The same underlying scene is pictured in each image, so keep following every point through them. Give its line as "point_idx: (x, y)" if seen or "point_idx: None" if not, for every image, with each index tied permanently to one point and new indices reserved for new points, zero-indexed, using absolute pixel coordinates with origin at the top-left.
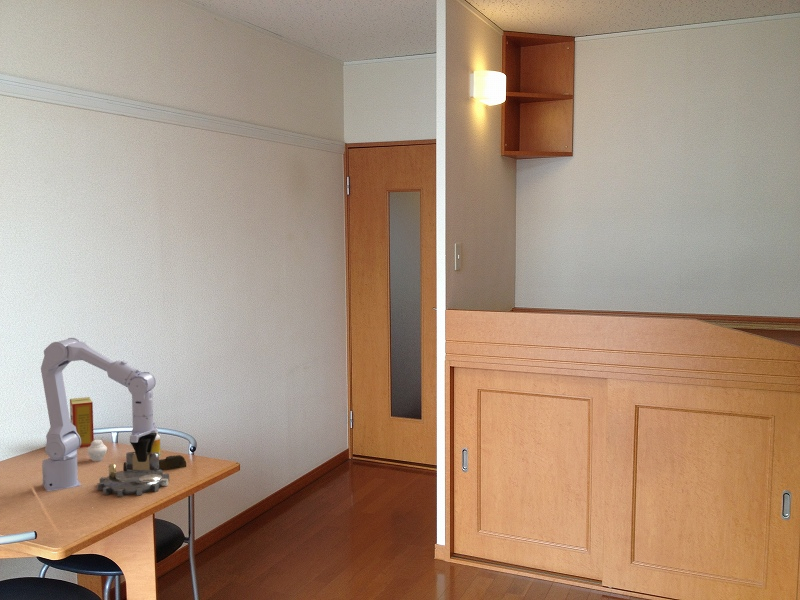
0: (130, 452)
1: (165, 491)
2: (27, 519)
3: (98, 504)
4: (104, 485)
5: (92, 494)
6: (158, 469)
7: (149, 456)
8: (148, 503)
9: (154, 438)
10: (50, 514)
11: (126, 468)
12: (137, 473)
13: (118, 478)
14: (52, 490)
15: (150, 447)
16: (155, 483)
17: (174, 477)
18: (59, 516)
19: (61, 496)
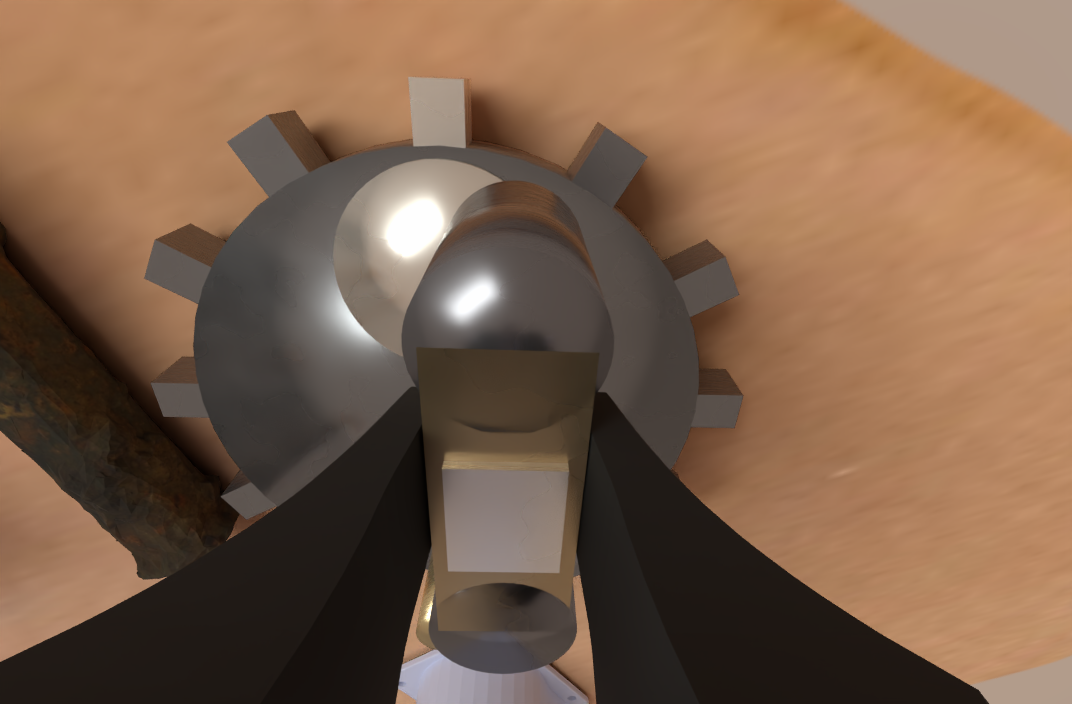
0: (466, 651)
1: (564, 58)
2: (933, 650)
3: (801, 460)
4: None
5: None
6: (56, 315)
7: (592, 377)
8: (875, 121)
9: (171, 635)
10: (897, 601)
11: (216, 526)
12: (324, 421)
13: None
14: (578, 694)
15: (390, 494)
16: (564, 176)
17: (150, 102)
18: (943, 562)
19: None
